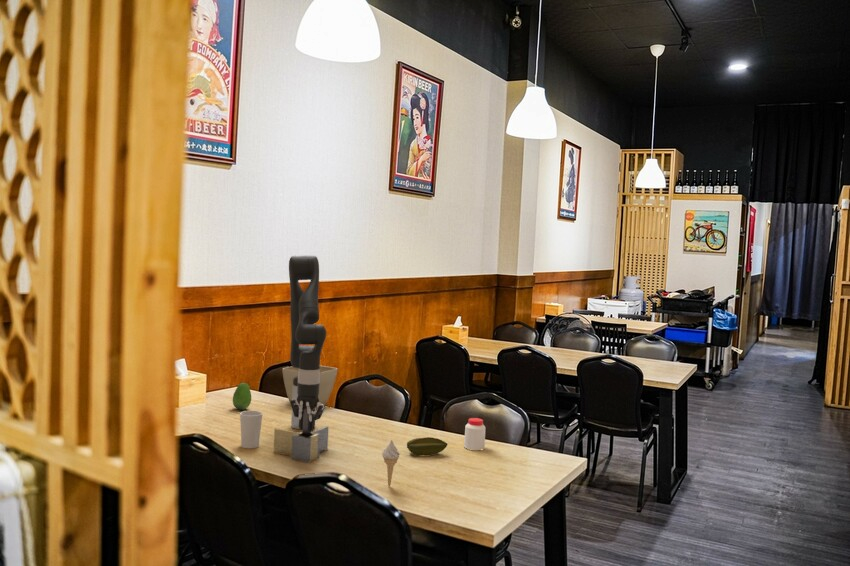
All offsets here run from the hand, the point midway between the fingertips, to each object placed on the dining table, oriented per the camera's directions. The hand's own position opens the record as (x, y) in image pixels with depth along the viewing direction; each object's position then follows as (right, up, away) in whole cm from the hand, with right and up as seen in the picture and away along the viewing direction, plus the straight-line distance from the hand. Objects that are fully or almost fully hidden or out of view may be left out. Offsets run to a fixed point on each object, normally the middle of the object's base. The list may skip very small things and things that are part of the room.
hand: (306, 430), depth 244 cm
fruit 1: (-40, -5, +65) cm, 76 cm away
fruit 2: (+42, -12, +12) cm, 45 cm away
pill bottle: (+60, -12, +24) cm, 66 cm away
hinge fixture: (-3, -9, +7) cm, 12 cm away
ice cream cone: (+30, -13, -24) cm, 40 cm away
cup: (-23, -8, +12) cm, 27 cm away
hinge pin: (0, -4, 0) cm, 4 cm away
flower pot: (-13, -5, +82) cm, 84 cm away
